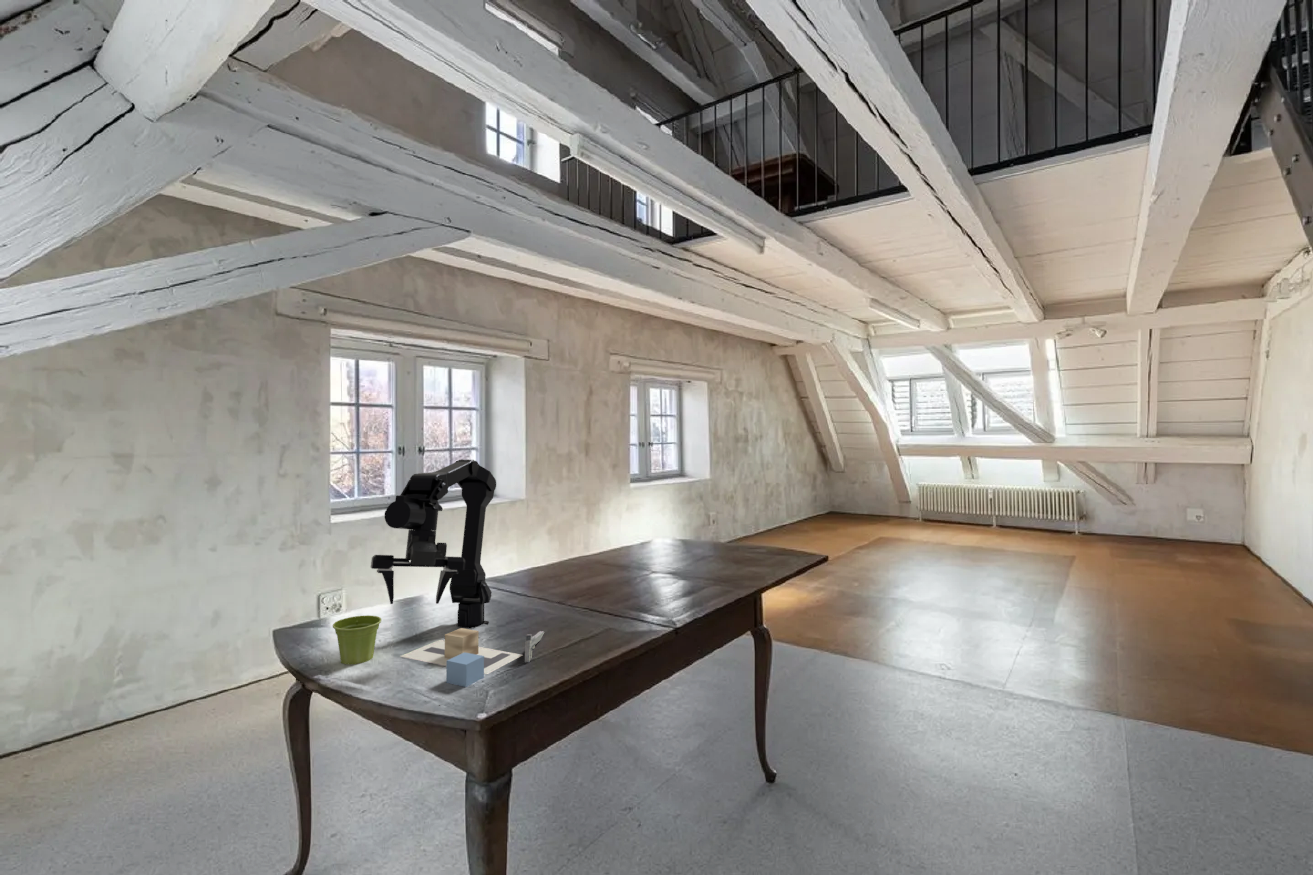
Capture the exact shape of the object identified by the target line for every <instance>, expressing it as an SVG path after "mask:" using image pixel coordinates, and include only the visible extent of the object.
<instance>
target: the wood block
mask: <svg viewBox="0 0 1313 875" xmlns="http://www.w3.org/2000/svg"><path fill="white" fill-rule="evenodd" d="M479 633H480V632H479V630H474V629H471V628H464V627H459V628H458V629H455V630H453V631H451V632H448V633H445V634H444V640H445V658H449V659H451V658H453V657H455V656H458V655H460V654H462V653H464V652H465V653H470V654H478V647H479Z"/></svg>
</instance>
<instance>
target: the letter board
mask: <svg viewBox="0 0 1313 875" xmlns="http://www.w3.org/2000/svg"><path fill="white" fill-rule="evenodd" d="M476 655H481V656H484V675H488V674H489V675H490V674H491V673H492V672H494V671H497V670H498V669H500V668H502V667H504V666H506V665H508V664H509V663H511V662H513V661H515V660H516V659H519V658H520V657H522V656H523V654H519V653H515V652H511V651H510V652H508V651H505V650H504V651H503V650H499V649H492V648H488V647H482V646H478V654H476ZM399 657H401V658H404V659H410V660H415V661H420V662H425V663H430V664H434V665H439V666H444V667H446V665H447V660H449V658H445V639H444V640H443V639H439V640H436V641H434V642H431V643H429V644H426V645H424V646H421V647H419V648H417V649H413V650H412V651H410V652H407V653H405V654H401V655H399Z"/></svg>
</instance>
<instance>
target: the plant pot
mask: <svg viewBox="0 0 1313 875" xmlns="http://www.w3.org/2000/svg"><path fill="white" fill-rule="evenodd" d="M381 623H382V618H381V617H379V616H377V615H369V614H366V615H357V616H350V617H349V616H348V617H346V618H342V619H339V620H337V621H335V622H334V623H333V624H332V628H333V629H334V632H335V634H336V636H337V643H338V652H339V657H340V664H343V665H358V664H364V663H366V662H369V661H371V660H373V658H374V652H375V645H376V641H377V640H376V639H377V634H378V630H379V627H380V624H381Z"/></svg>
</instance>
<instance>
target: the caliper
mask: <svg viewBox="0 0 1313 875" xmlns="http://www.w3.org/2000/svg"><path fill="white" fill-rule="evenodd" d="M544 633H545V631H544V630H543V631H541V630H539V631H538V632H537V633H536V634H534V635H533V634H532V633H529V634H528V633H527V634H526V635H525V641H524V642H525V644H524V645H525V646H524V663H530V662H531V659H532V657H533V650H535V649H536V645H537V644H538V643H539V642H540V641H541V640H542V637H543V635H544Z"/></svg>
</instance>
